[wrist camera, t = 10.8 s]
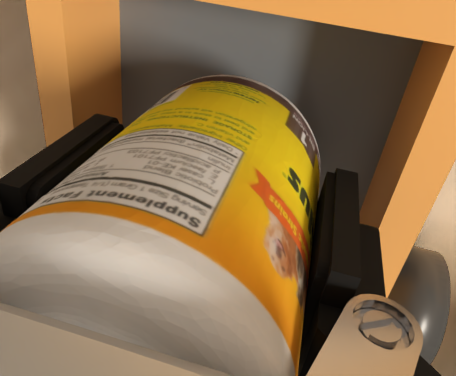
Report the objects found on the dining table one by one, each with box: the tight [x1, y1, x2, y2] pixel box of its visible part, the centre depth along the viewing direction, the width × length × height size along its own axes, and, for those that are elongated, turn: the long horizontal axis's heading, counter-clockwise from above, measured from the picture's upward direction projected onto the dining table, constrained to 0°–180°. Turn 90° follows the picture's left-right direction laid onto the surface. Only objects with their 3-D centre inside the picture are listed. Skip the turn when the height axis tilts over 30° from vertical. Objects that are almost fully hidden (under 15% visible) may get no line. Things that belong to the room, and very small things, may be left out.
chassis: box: [26, 0, 456, 364], centre depth 14 cm, size 20×17×6 cm
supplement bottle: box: [0, 75, 320, 376], centre depth 9 cm, size 6×6×10 cm
